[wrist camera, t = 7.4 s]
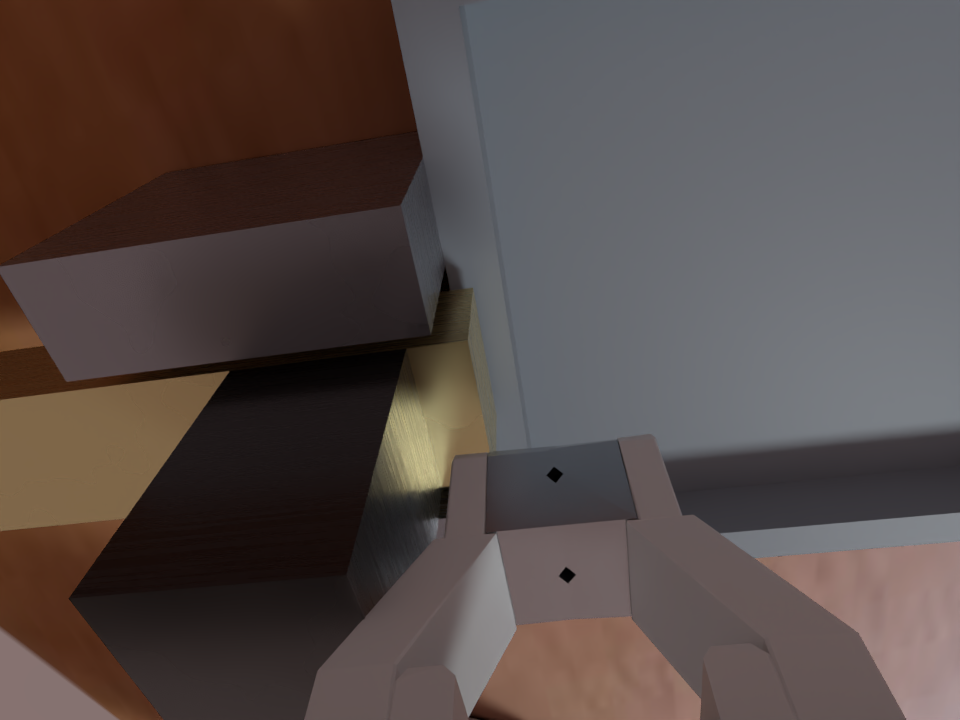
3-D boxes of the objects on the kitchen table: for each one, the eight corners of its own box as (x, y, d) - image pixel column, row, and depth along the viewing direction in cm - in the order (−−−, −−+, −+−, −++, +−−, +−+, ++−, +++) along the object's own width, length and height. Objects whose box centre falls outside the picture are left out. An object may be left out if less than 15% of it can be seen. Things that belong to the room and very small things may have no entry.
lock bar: (473, 287, 11) (445, 565, 6) (496, 415, 13) (492, 731, 7) (-200, 378, 13) (-710, 664, 8) (-108, 483, 14) (-476, 784, 9)
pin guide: (436, 127, 13) (400, 205, 8) (493, 426, 17) (490, 587, 12) (165, 172, 13) (-5, 267, 9) (282, 449, 17) (207, 609, 13)
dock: (1283, -228, 9) (1510, -290, 7) (1018, 460, 17) (1094, 530, 14) (402, -51, 11) (378, -59, 9) (508, 508, 18) (509, 577, 16)
